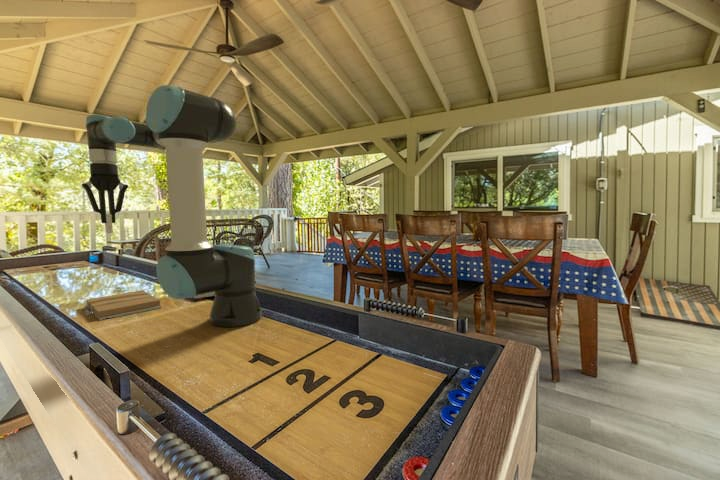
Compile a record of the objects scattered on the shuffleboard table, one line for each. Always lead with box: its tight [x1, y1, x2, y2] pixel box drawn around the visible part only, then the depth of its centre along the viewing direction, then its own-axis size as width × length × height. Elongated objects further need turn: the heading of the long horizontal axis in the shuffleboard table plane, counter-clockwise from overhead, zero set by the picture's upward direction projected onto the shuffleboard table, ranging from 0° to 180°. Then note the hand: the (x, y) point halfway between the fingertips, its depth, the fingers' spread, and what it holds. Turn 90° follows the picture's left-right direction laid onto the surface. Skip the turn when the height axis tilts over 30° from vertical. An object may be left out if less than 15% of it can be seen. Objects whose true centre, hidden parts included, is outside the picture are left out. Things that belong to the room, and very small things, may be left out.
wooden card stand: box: [85, 295, 162, 321], centre depth 116 cm, size 21×17×3 cm
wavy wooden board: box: [85, 289, 153, 312], centre depth 119 cm, size 11×17×2 cm, turn 138°
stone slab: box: [187, 291, 215, 302], centre depth 136 cm, size 10×3×30 cm
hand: (109, 232), depth 118 cm, fingers closed
